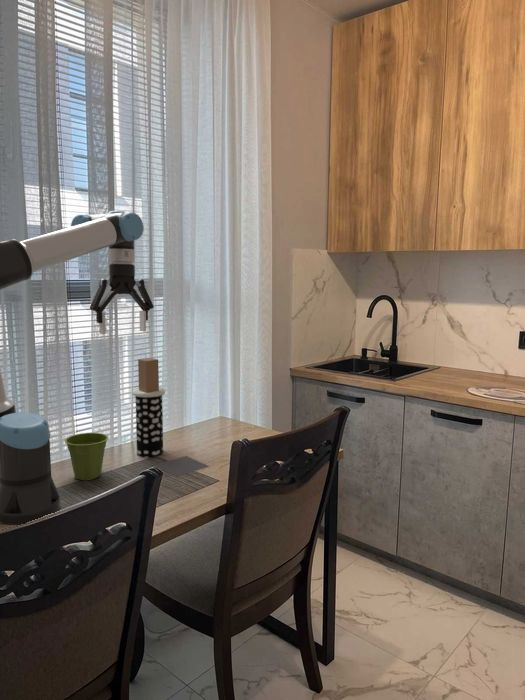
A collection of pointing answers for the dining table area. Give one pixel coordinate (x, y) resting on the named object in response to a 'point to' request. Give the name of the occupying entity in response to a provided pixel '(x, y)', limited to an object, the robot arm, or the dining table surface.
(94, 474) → the plant pot
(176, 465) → the mat
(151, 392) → the wooden post on disc
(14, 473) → the robot arm
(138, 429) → the white-spotted black cylinder
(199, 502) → the dining table surface
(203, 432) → the dining table surface
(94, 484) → the dining table surface
